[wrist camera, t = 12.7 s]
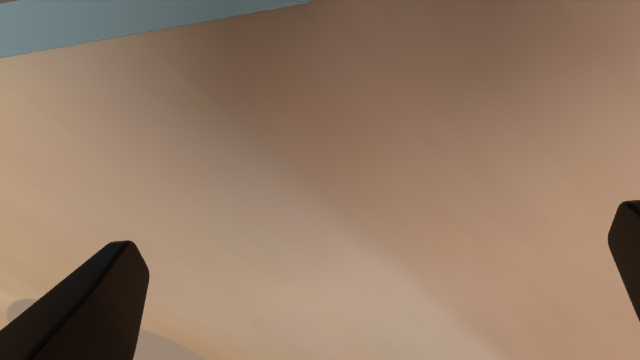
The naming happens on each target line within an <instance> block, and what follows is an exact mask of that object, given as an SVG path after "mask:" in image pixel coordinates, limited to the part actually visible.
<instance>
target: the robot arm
mask: <svg viewBox="0 0 640 360" xmlns="http://www.w3.org/2000/svg"><path fill="white" fill-rule="evenodd" d="M608 245H609V248H610V251H611V253H612V256H613V258H614V261H615V263H616V266H617V268H618V271H619V273H620V275H621V278H622V280H623V283H624V285H625V288H626V290H627V293H628V295H629V297H630V300H631V302H632V305H633V307H634V310H635V312H636V314H637V317H638V319H639V321H640V200H632V201H625V202H622V203H621V204H620V205H619V207H618V209H617V212H616V214H615V217H614V220H613V223H612V225H611V228H610V231H609V234H608ZM148 284H149V270H148V267H147V265H146V263H145V261H144V259H143V257H142V256H141V254H140V252H139V250H138V248H137V246H136V245H135V243H134V242H132V241H129V240H126V241H114V242H110V243H108V244H107V245H106V246H104V247H103V248H102V249H101V250H100V251H98V252H97V253H96V254H95V255H93V256H92V257H91V258H90V259H88V260H87V261H86V262H85V263H83V264H82V265H81V266H80V267H79V268H77V269H76V270H75V271H74V272H72V273H71V274H70V275H69V276H67V277H66V278H65V279H64V280H62V281H61V282H60V283H59V284H57V285H56V286H55V287H54V288H53V289H51V290H50V291H49V292H48V293H46V294H45V295H44V296H43V297H41V298H40V299H39V300H38V301H36V302H35V303H34V304H33V305H32V306H30V307H29V308H28V309H27V310H25V311H24V312H23V313H22V314H20V315H19V316H18V317H17V318H15V319H14V320H13V321H12V322H10V323H9V324H8V325H7V326H5V327H4V328H3V329H2V330H0V360H133V357H134V353H135V349H136V344H137V341H138V335H139V330H140V325H141V320H142V315H143V310H144V304H145V299H146V294H147V289H148Z"/></svg>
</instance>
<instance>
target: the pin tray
mask: <svg viewBox="0 0 640 360" xmlns="http://www.w3.org/2000/svg"><path fill="white" fill-rule="evenodd" d="M306 3H312V0H18V1H13V2H8V3H2V4H0V58H4V57H9V56H15V55H20V54H26V53H32V52H37V51H43V50H49V49H54V48H60V47H65V46H71V45H77V44H82V43H88V42H93V41H99V40H105V39H110V38H116V37H121V36H127V35H133V34H138V33H144V32H149V31H155V30H161V29H166V28H172V27H177V26H183V25H189V24H194V23H200V22H205V21H211V20H217V19H222V18H228V17H233V16H239V15H245V14H250V13H256V12H262V11H267V10H273V9H278V8H284V7H290V6H295V5H301V4H306Z"/></svg>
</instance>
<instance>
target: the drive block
mask: <svg viewBox="0 0 640 360" xmlns="http://www.w3.org/2000/svg"><path fill="white" fill-rule="evenodd" d="M13 1H18V0H0V4H2V3H8V2H13Z"/></svg>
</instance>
